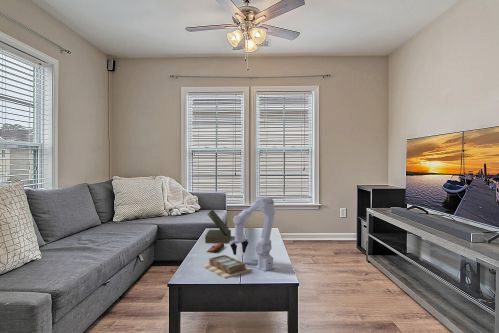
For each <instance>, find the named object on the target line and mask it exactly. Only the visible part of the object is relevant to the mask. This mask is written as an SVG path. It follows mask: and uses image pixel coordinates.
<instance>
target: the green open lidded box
mask: <svg viewBox="0 0 499 333" xmlns="http://www.w3.org/2000/svg"><path fill="white" fill-rule="evenodd" d="M207 216H208V217H209V219H210V220H211V221H212V222H213V223H214V225H216V227H217V229H208V231H207V232H206V233H205V235H204V236H205V237H204V242H205V244H217V243H220V242H223V243H224V244H230V241H231V238H232V229H230V228H229V227H228V226H227V224H225V222H224V221H223V219H222V218H221V217H219V215H218V214H217V212H215V210H214V209H213V208H212V209H211V210H210V211H209V212H207Z"/></svg>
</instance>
